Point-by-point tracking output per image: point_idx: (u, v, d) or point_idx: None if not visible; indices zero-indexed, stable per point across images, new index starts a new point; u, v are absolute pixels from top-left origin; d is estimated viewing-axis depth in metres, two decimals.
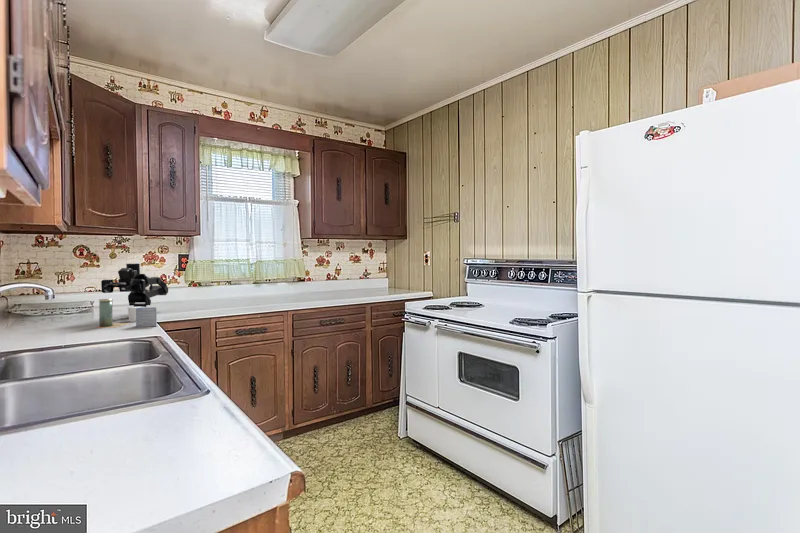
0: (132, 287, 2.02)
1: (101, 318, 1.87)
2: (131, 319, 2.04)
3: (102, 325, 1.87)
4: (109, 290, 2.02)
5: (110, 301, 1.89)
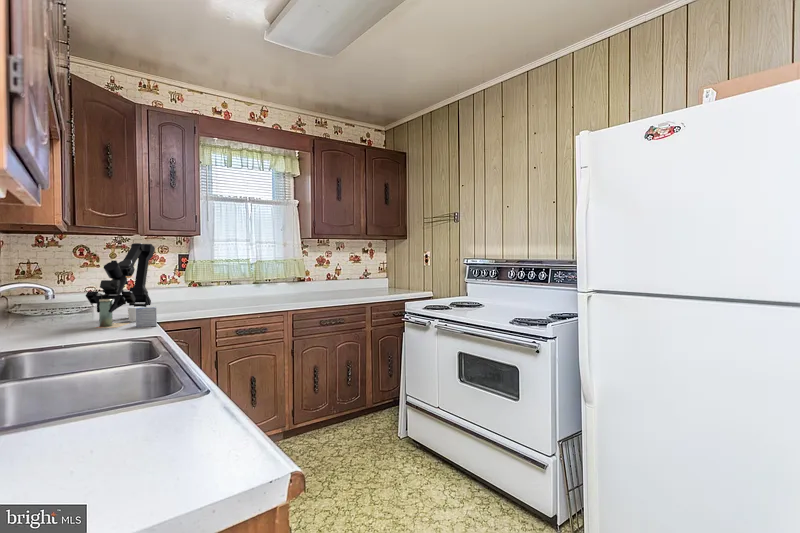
0: (116, 304, 1.92)
1: (101, 318, 1.87)
2: (131, 319, 2.04)
3: (102, 325, 1.87)
4: None
5: (110, 301, 1.89)
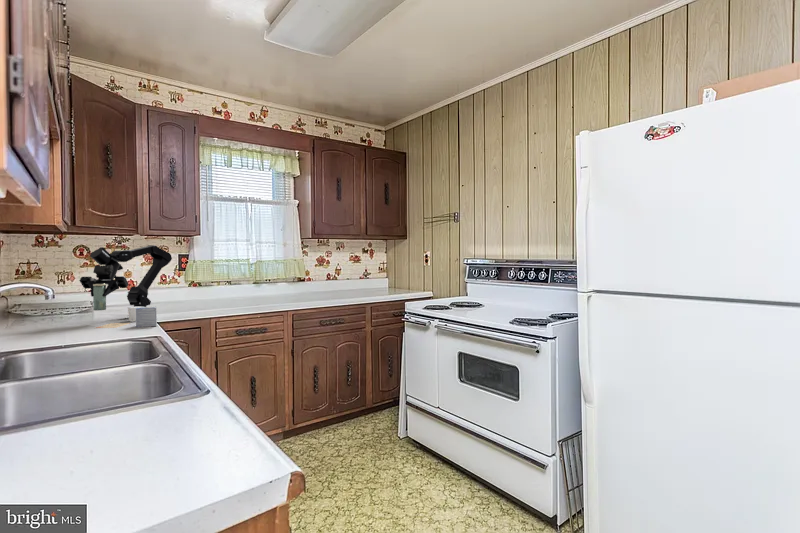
0: (110, 289, 1.98)
1: (95, 302, 1.94)
2: (131, 319, 2.04)
3: (96, 309, 1.94)
4: None
5: (104, 286, 1.96)
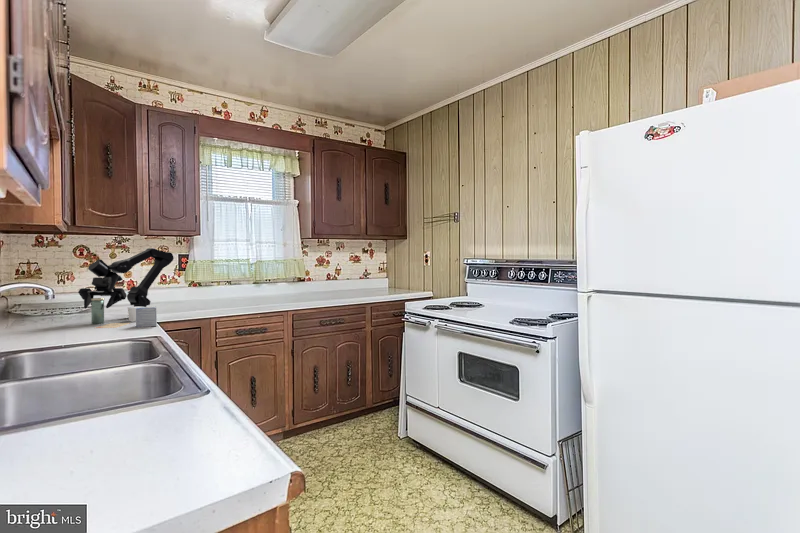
0: (113, 300, 2.00)
1: (93, 316, 1.95)
2: (131, 319, 2.04)
3: (94, 323, 1.95)
4: (90, 301, 2.00)
5: (102, 300, 1.97)
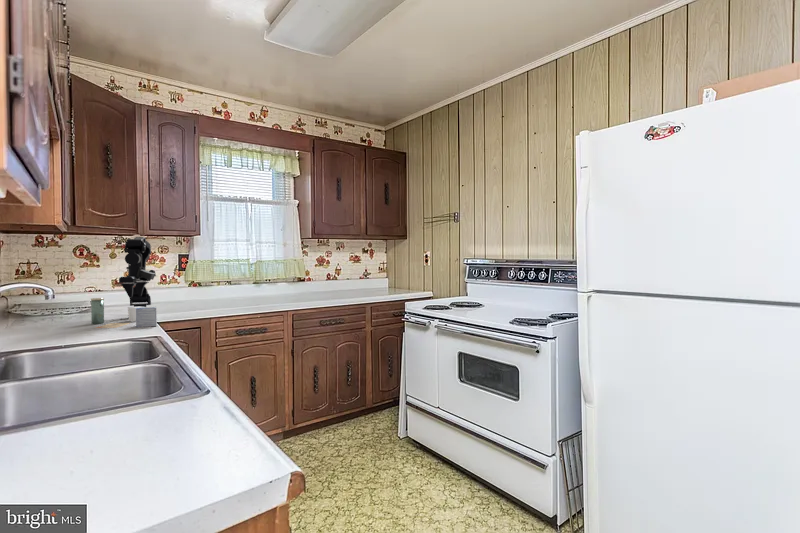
0: None
1: (93, 316, 1.95)
2: (131, 319, 2.04)
3: (94, 323, 1.95)
4: None
5: (101, 300, 1.97)
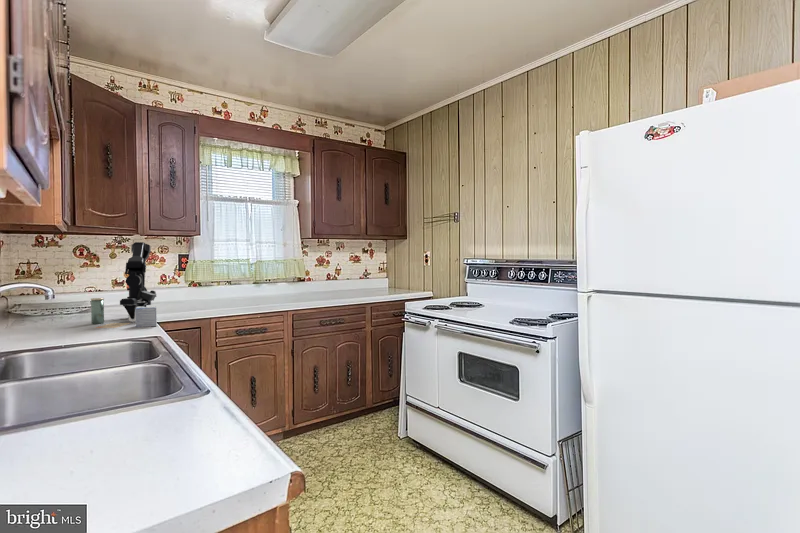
0: None
1: (93, 316, 1.95)
2: (131, 319, 2.04)
3: (94, 323, 1.95)
4: None
5: (101, 300, 1.97)
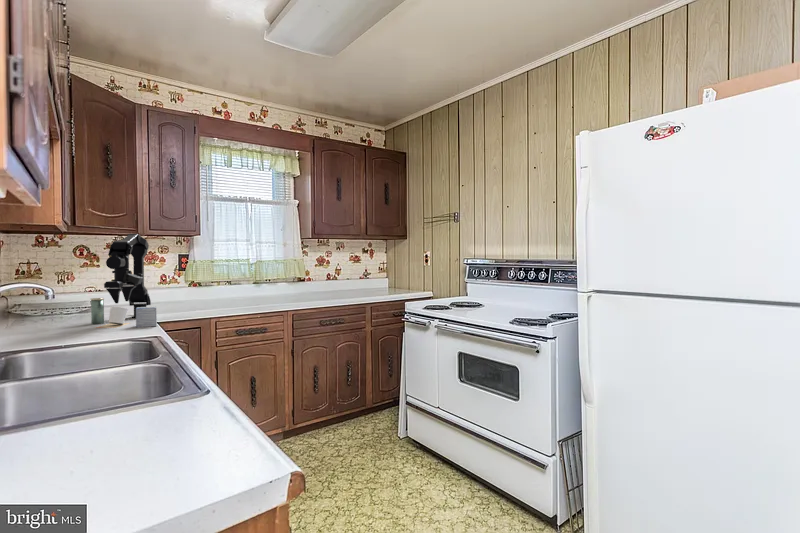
0: None
1: (92, 316, 1.95)
2: (111, 319, 1.90)
3: (93, 323, 1.95)
4: None
5: (101, 300, 1.97)
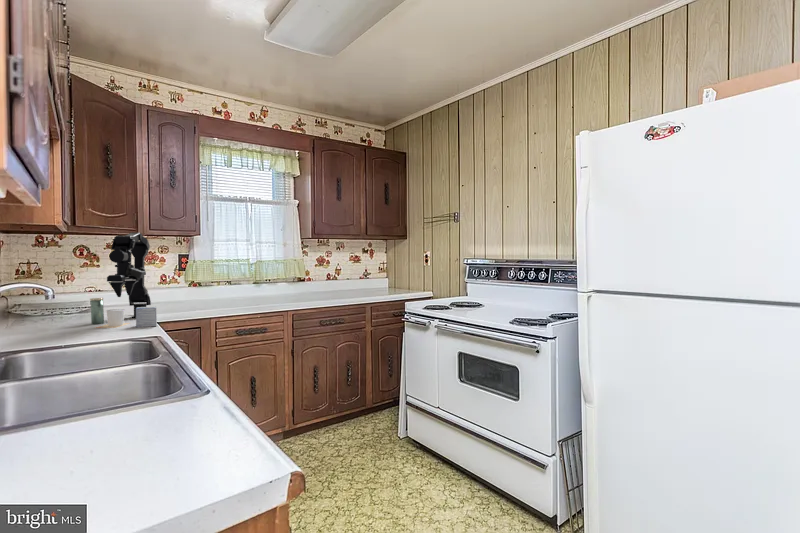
0: None
1: (92, 316, 1.95)
2: (110, 323, 1.89)
3: (93, 323, 1.95)
4: None
5: (100, 300, 1.96)
